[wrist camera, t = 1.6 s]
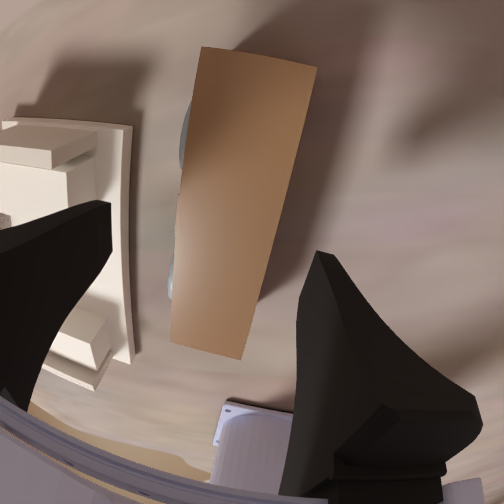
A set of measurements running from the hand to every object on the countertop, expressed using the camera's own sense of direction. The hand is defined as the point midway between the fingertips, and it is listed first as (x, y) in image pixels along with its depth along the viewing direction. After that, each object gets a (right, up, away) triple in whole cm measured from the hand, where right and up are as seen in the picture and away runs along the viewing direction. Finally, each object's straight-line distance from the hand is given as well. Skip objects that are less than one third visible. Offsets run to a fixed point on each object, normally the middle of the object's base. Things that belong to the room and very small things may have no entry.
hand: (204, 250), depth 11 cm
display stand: (-10, 0, +8) cm, 13 cm away
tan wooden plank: (+1, +3, +5) cm, 6 cm away
